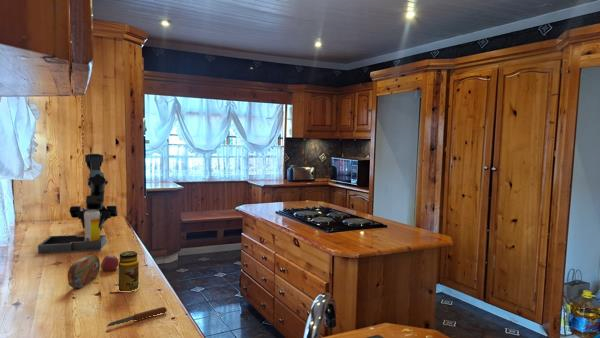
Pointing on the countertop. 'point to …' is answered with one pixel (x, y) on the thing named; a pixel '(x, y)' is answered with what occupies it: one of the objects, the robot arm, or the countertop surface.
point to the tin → (83, 271)
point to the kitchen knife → (140, 315)
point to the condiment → (128, 271)
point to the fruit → (109, 263)
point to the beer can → (91, 225)
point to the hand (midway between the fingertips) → (91, 227)
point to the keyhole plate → (70, 244)
